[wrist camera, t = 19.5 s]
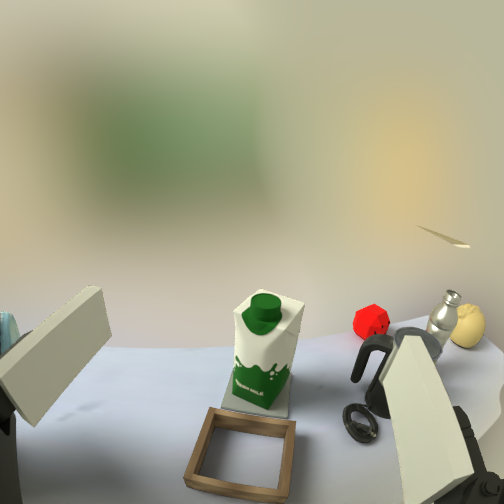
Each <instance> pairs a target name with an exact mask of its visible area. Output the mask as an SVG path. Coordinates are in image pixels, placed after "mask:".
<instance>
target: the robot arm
mask: <svg viewBox="0 0 504 504" xmlns="http://www.w3.org/2000/svg"><path fill="white" fill-rule="evenodd" d="M111 336H112V334H111V330H110V326H109V322H108V317H107V313H106V308H105V303H104V298H103V293H102V288H99V287H96V286H92V285H89V286H88V287H86V288H85V289H84V290H82V291H81V292H80V293H79V294H77V295H76V296H75V297H73V298H72V299H71V300H69V301H68V302H67V303H66V304H64V305H63V306H62V307H61V308H59V309H58V310H57V311H56V312H54V313H53V314H52V315H51V316H50V317H48V318H47V319H46V320H45V321H44V322H42V323H41V324H40V325H39V326H38V327H36V328H35V329H34V330H32V331H30V332H28V333H26V334H24V335H23V336H21V337H20V334H19V330H18V327H17V324H16V321H15V319H14V317H13V315H12V314H11V313H9V312H4V311H3V312H1V313H0V504H23V503H22V498H21V491H20V484H19V476H18V466H17V452H16V416H15V414H14V411H15V410H17V411H18V413H19V414H20V415H21V417H22V418H23V419H24V420H25V421H27V422H28V423H29V424H30V425H32V426H33V427H35V426H36V425H37V423H38V422H39V421H40V420H41V418H42V417H43V416H44V415H45V413H46V412H47V411H48V410H49V408H50V407H51V406H52V405H53V404H54V402H55V401H56V400H57V399H58V397H59V396H60V395H61V394H62V393H63V391H64V390H65V389H66V388H67V387H68V385H69V384H70V383H71V382H72V381H73V380H74V378H75V377H76V376H77V375H78V374H79V373H80V371H81V370H82V369H83V368H84V367H85V366H86V364H87V363H88V362H89V361H90V360H91V359H92V358H93V356H94V355H95V354H96V353H97V352H98V351H99V350H100V349H101V347H102V346H103V345H104V344H105V343H106V342H107V341H108V340H109V338H110V337H111ZM383 386H384V390H385V394H386V398H387V402H388V407H389V411H390V416H391V421H392V426H393V431H394V436H395V441H396V447H397V453H398V459H399V465H400V472H401V479H402V487H403V495H404V504H431V503H433V502H434V504H504V479H500V478H499V476H498V475H497V474H495V473H494V472H487V470H486V468H485V465H484V461H483V458H482V456H481V452H480V449H479V446H478V443H477V440H476V437H474V432H473V429H472V428H471V424H470V421H469V419H468V416H467V415H466V413H465V412H464V411H463V410H462V409H461V407H460V406H453V407H452V405H451V402H450V400H449V397H448V395H447V393H446V390H445V388H444V386H443V383H442V381H441V379H440V376H439V374H438V372H437V370H436V368H435V365H434V363H433V361H432V359H431V357H430V355H429V353H428V351H427V349H426V347H425V345H424V343H423V341H422V339H421V337H420V336H408V335H405V337H404V339H403V341H402V343H401V346H400V348H399V350H398V352H397V354H396V357H395V359H394V361H393V363H392V365H391V367H390V369H389V371H388V373H387V375H386V377H385V379H384V381H383Z"/></svg>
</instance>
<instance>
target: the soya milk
mask: <svg viewBox="0 0 504 504" xmlns="http://www.w3.org/2000/svg"><path fill="white" fill-rule="evenodd" d="M304 306H305V303H303V302H300V301H297V300H294V299H291V298H288V297H284V296H281V295H278V294H275V293H272V292H269V291H265V290H262V289H259V290H258V291H257V292H256V293H255V294H253V295H251V296H249V297H248V299H247V300H246V301H244V302H243V303H242V304H241V305H240V306H238V307H237V308H236V309H235V310H234V319H235V326H236V332H235V350H234V369H233V386H232V394H233V395H235V396H237V397H239V398H241V399H244V400H246V401H248V402H250V403H252V404H254V405H257V406H259V407H261V408H263V409H266V410H268V409H269V408H270V406H271V405H272V404H273V402H274V401H275V399H276V398H277V396H278V395H279V393H280V392H281V390H282V389H283V387H284V386H285V384H286V381H287V379H288V377H289V374H290V371H291V367H292V362H293V358H294V354H295V350H296V345H297V340H298V334H299V332H300V325H301V320H302V315H303V311H304Z"/></svg>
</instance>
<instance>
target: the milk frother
mask: <svg viewBox="0 0 504 504" xmlns="http://www.w3.org/2000/svg"><path fill="white" fill-rule="evenodd" d="M405 335H408V336H420V337H421V339H422V341H423V343H424V345H425V347H426V349H427V351H428V353H429V355H430V357H431V359H432V361H433V363H435V361H436V359H438V358H439V357H440V355H441V354H442V352H443V350H442V347H441V344H440V342H439V341H438V340H437V339H436V338H435V337H434V336H433V335H432V334H430V333H429V332H427V331H425V330H422V329H420V328H415V327H402V328H400V329H398V330H397V331H396V332H395V334H394V337H391V336H388V335H385V334H375V335H372V336H370V337H368V338H367V339H366V340H365V341H364V342H363V344H362V346H361V348H360V350H359V353H358V356H357V359H356V363H355V366H354V369H353V372H352V375H351V381H352V382H353V383H358V382H359V381H360V379H361V377H362V375H363V373H364V370H365V367H366V365H367V362H368V359H369V356H370V353H371V352H372V351H375V350H379V351H382V352H385V353H386V354H385V356H384V358H383V360H382V362H381V364H380V366H379V368H378V370H377V372H376V374H375V376H374V378H373V380H372V382H371V384H370V386H369V388H368V390H367V392H366V395H365V401H366V404H367V405H363V404H357V403H356V404H355V403H354V404H350V405H348V406H346V407H345V408H344V410H343V416H342V417H343V422H344V425H345V427H346V429H347V431H348V433H349V434H350V435H351V437H352V438H354V439H355V440H356V441H358V442H361V443H369V442H371V441H372V440H373V439H374V438H375V437H376V435H377V432H378V424H377V422H376V420H375V418H374V417H373V415H372V414H371V413H370V412H369V411H368V410H367V409H365V408H364V407H368V408H369V409H370V410H371V411H372V412H373V413H375V414H376V415H378V416H380V417H383V418H391V416H390V411H389V407H388V402H387V398H386V394H385V390H384V386H383V381H384V379H385V377H386V375H387V373H388V371H389V369H390V367H391V365H392V363H393V361H394V359H395V357H396V354H397V352H398V350H399V348H400V346H401V343H402V341H403V339H404V337H405ZM362 406H363V407H362ZM354 411H357V412H360V413H362V414H363V415H364V416H365V417H366V418H367V419H368V421H369V422H370V425H371V426H369V427H368V426H367V425H364V424H361V423H357V422H355V421H352V419H351V413H352V412H354ZM371 430H372V431H371Z"/></svg>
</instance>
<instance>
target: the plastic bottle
mask: <svg viewBox="0 0 504 504" xmlns="http://www.w3.org/2000/svg"><path fill="white" fill-rule="evenodd" d="M460 300H461V295H460V294H459V293H458V292H456V291H454V290H450V289H449V290H446V292H445V295H444V296H443V302H441V303H439V304H438V305H437V306H435V307H434V308H433V310H432V311H431V314H430V317H429V320H428V324H427V328H426V330H425V331H427V332H429V333H430V334H432V335H433V336H434V337H435V338H436V339H437V340H438V341H439V342H440V344H441V347H442V349H443V347H444V345H445V343H446V341H447V340H448V338H449V336H450V335H451V333H452V332H453V330H454V329H455V327H456V325H457V322H458V313H457V307H458V306H459V303H460ZM437 360H438V359H436V361H435V363H434V365H435V366H436V363H437Z"/></svg>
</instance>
